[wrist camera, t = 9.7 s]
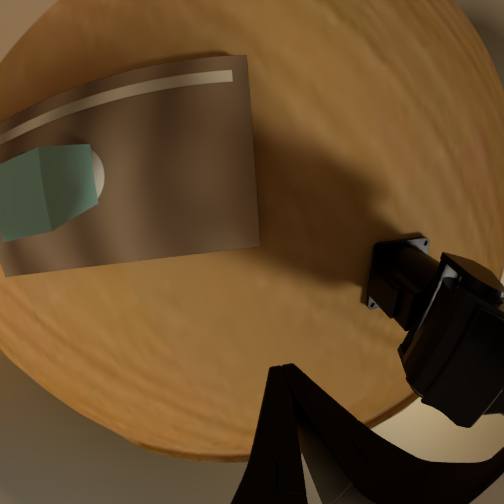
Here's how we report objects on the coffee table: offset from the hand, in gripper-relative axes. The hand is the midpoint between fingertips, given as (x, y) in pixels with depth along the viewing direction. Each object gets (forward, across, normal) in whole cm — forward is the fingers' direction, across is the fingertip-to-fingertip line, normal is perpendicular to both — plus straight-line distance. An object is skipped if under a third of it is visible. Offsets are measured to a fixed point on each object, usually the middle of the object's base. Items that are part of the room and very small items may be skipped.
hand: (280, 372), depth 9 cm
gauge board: (+12, +10, -7) cm, 17 cm away
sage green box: (+11, +11, -7) cm, 17 cm away
